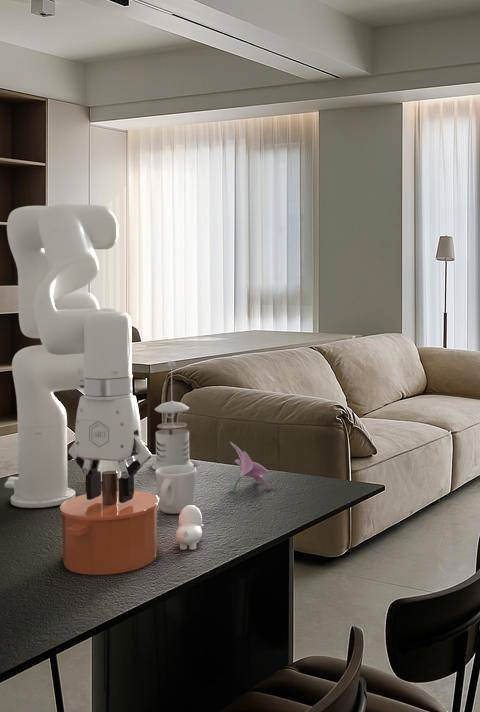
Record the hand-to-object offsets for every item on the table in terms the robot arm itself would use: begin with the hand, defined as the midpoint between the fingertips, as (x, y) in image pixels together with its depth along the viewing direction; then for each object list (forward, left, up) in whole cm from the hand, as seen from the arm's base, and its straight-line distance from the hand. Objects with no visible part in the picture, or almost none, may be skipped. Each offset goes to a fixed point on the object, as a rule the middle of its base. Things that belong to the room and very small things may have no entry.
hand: (109, 498), depth 139 cm
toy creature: (+9, +10, -10) cm, 17 cm away
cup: (-3, +26, -10) cm, 28 cm away
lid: (0, 0, -1) cm, 1 cm away
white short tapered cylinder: (-31, +46, -10) cm, 56 cm away
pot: (0, 0, -10) cm, 10 cm away
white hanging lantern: (-23, +61, -10) cm, 66 cm away
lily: (+4, +46, -10) cm, 47 cm away
